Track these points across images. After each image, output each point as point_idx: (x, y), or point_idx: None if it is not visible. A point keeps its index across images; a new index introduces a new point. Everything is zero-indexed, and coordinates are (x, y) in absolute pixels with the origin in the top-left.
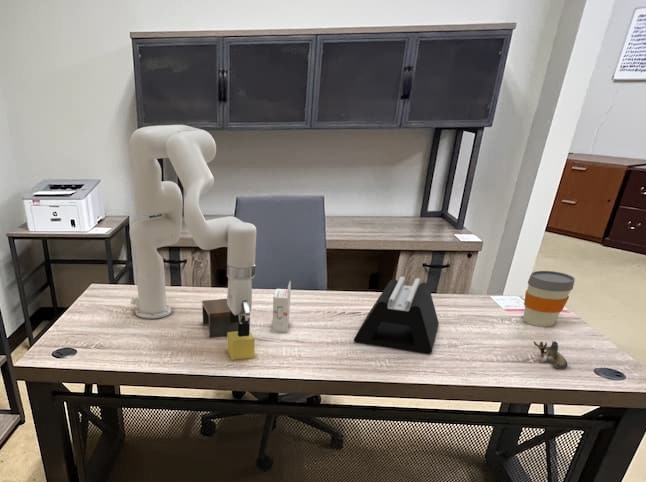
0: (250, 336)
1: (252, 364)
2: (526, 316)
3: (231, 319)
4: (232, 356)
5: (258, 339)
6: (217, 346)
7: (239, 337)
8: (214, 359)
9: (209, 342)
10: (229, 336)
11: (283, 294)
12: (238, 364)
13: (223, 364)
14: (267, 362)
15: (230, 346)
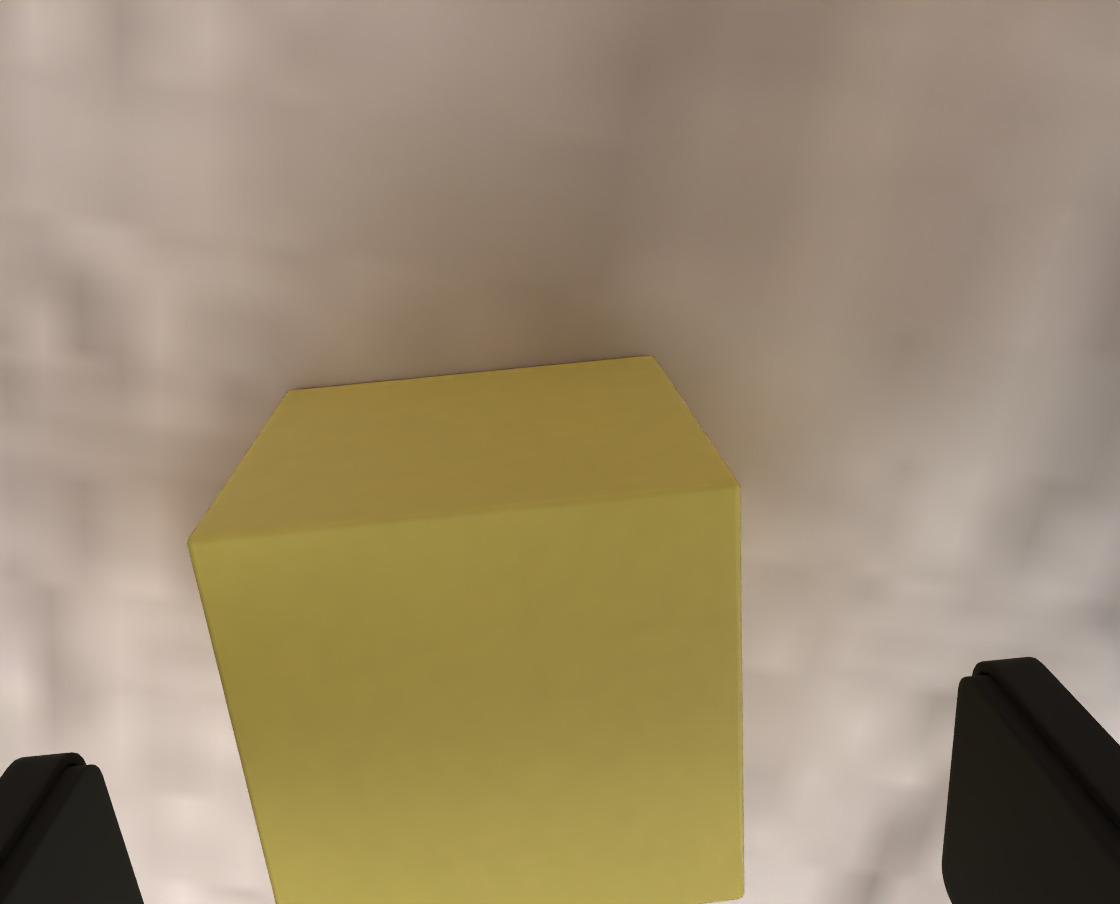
0: (409, 902)
1: (122, 652)
2: None
3: (1010, 753)
4: (278, 409)
5: (930, 818)
6: (863, 208)
7: (378, 704)
8: (336, 77)
9: (1071, 80)
10: (502, 499)
11: None
12: (122, 460)
13: (122, 217)
14: (186, 835)
15: (413, 436)
